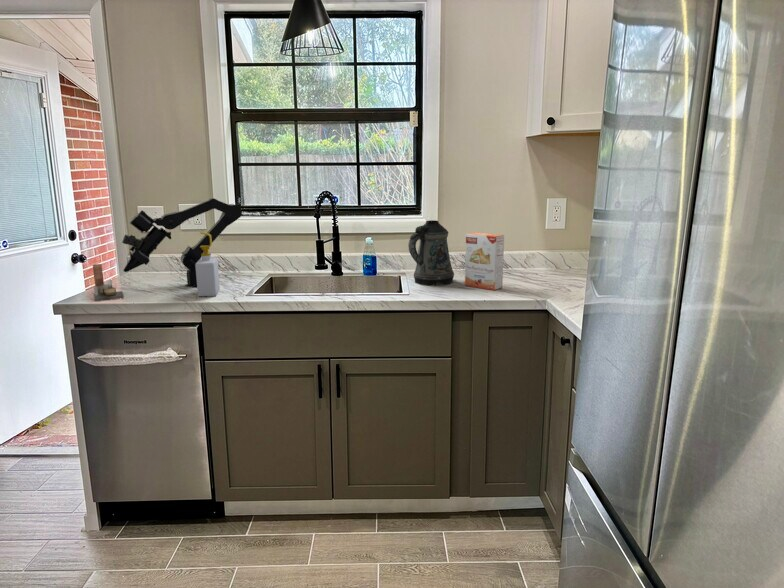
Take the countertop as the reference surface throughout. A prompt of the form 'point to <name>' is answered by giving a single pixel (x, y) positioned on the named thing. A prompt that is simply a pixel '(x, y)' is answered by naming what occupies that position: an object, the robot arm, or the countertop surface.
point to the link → (101, 279)
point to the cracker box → (484, 260)
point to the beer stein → (431, 255)
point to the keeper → (99, 288)
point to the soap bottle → (207, 272)
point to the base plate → (109, 296)
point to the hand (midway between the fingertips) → (124, 271)
